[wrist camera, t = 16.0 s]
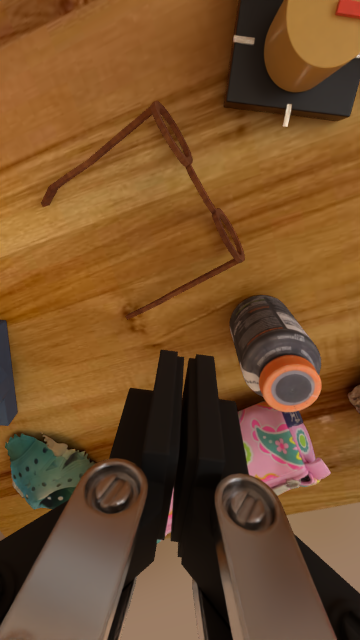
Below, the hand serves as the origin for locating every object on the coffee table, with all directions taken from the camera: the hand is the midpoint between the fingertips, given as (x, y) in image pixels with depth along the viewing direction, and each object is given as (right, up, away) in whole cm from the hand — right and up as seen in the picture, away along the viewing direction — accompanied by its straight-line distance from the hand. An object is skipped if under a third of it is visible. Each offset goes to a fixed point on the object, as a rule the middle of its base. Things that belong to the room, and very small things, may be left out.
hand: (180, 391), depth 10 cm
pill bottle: (+8, +2, +22) cm, 23 cm away
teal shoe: (-14, -18, +32) cm, 39 cm away
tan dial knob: (+8, +21, +11) cm, 25 cm away
